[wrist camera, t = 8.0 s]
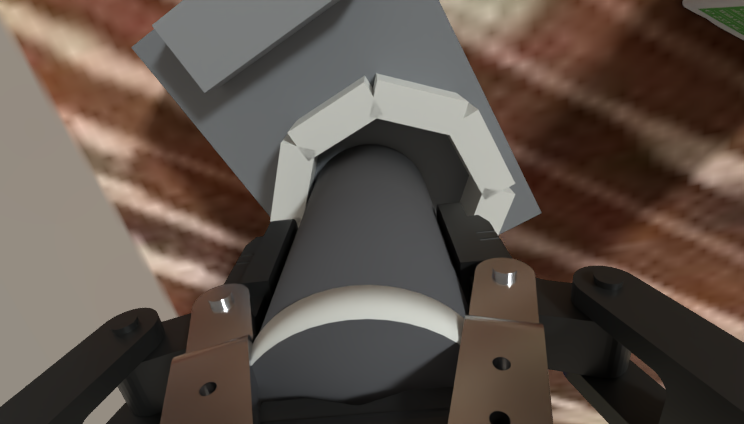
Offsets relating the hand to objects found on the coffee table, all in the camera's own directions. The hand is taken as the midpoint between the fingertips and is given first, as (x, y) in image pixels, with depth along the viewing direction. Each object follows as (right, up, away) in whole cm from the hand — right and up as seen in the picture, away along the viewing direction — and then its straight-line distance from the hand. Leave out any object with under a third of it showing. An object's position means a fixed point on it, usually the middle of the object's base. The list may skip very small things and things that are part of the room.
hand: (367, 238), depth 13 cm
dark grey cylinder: (0, +1, +3) cm, 3 cm away
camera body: (0, +6, +7) cm, 9 cm away
